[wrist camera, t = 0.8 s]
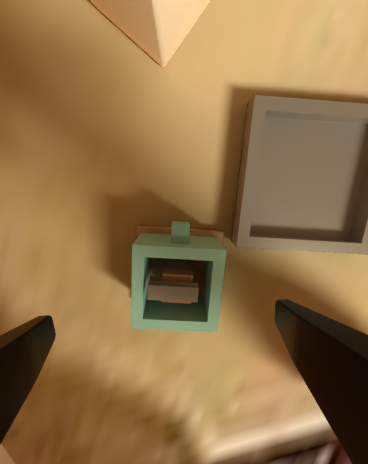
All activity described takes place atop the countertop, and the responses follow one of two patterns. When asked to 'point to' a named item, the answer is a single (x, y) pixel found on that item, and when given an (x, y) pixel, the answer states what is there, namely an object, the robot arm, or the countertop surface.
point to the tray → (303, 176)
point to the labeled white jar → (154, 22)
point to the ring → (177, 314)
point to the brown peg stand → (176, 271)
